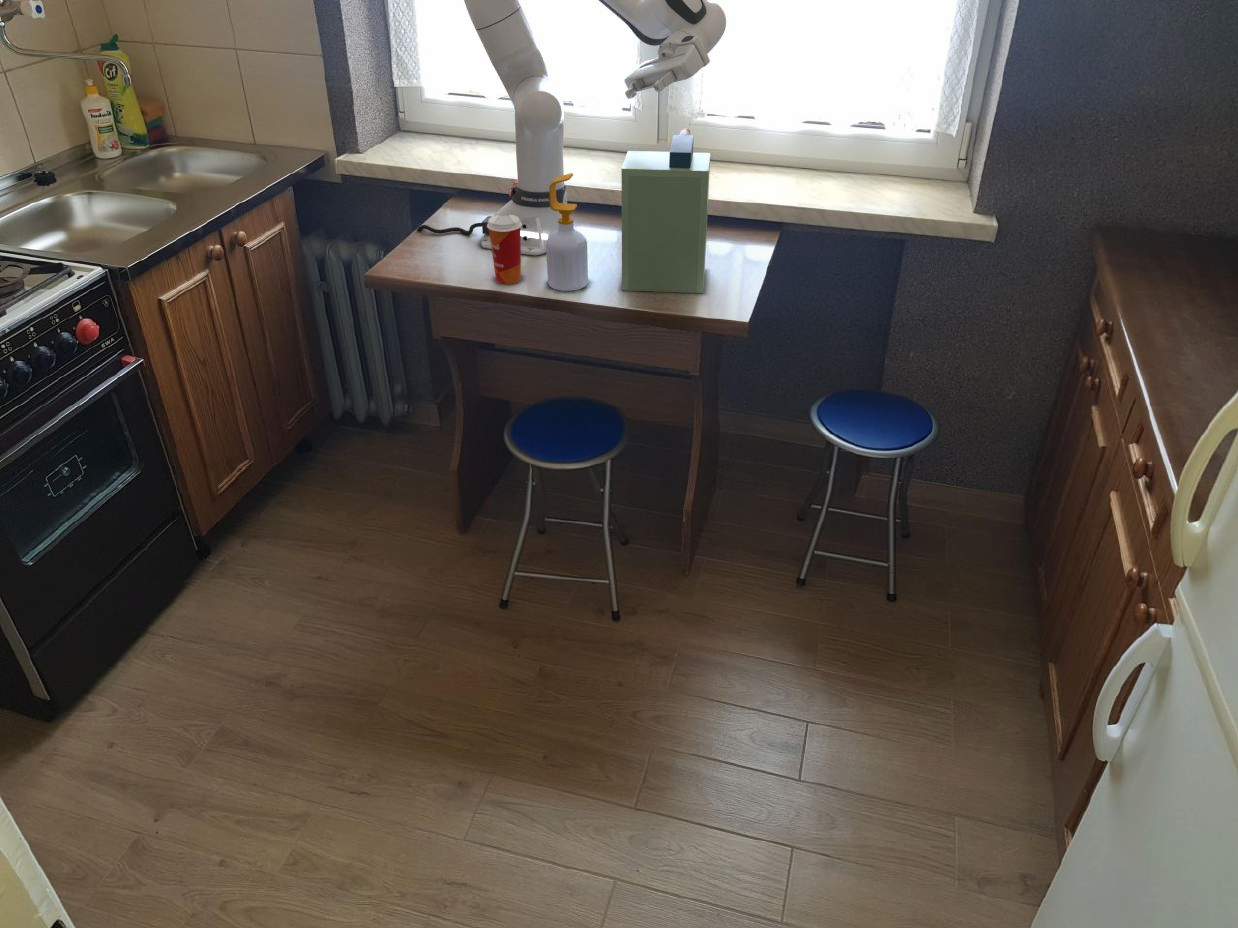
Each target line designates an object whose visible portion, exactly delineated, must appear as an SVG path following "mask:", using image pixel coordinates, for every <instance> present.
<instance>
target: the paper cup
mask: <svg viewBox="0 0 1238 928" xmlns="http://www.w3.org/2000/svg"><path fill="white" fill-rule="evenodd" d="M492 216H493V217H491V218H490V219H489V221H488V224H487V228H488V229H489V234H490V241H491V248H492V249H491V254H492V262H493V269H494V275H495V280H496V282H498V283H499V284H504V285H512V284H516V283H518V282H520V281H521V278H522V254H521V226H522V223H521V222H520V219H519V218H518V217H517V216H514V215H509V216H507V215H502V216H499V215H497V216H494V215H492Z"/></svg>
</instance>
